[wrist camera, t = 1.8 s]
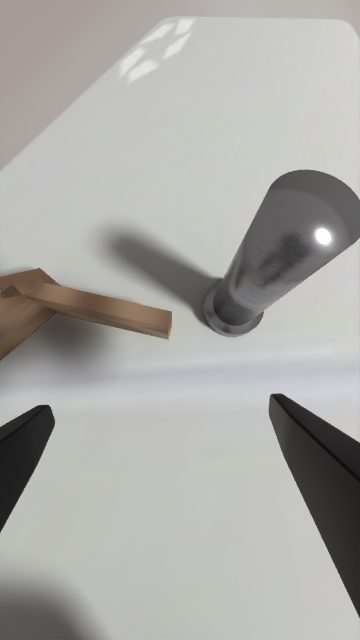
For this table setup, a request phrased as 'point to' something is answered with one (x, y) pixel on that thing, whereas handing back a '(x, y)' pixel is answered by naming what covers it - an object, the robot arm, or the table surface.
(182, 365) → the table surface
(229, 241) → the table surface
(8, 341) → the v block
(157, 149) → the table surface
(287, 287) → the grey metal rounded post
